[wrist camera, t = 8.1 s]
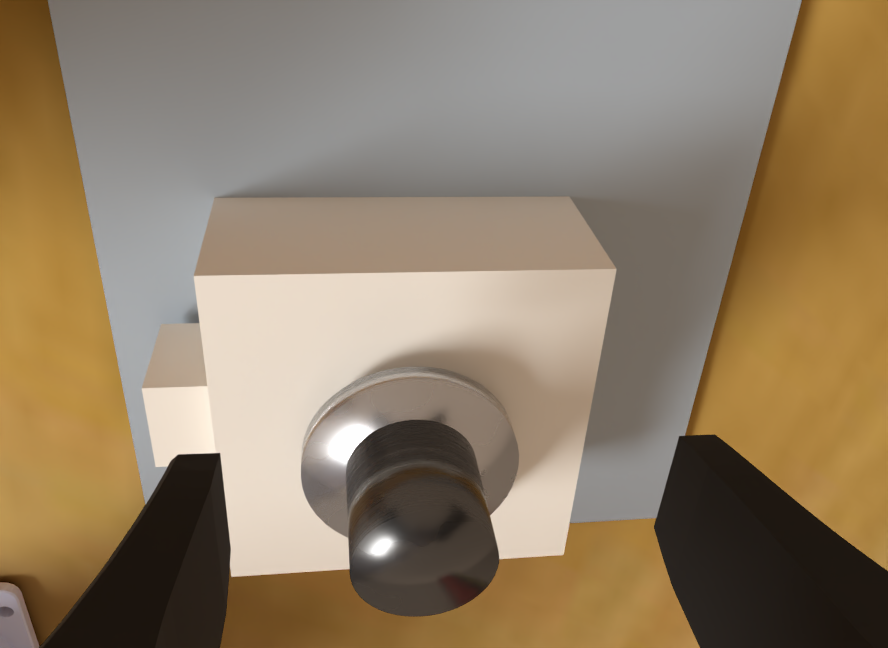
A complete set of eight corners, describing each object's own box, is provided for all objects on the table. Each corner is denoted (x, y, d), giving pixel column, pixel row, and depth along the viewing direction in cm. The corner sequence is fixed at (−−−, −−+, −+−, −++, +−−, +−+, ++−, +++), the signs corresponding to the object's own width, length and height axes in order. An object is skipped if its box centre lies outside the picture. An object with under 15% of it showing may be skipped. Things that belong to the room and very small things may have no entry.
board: (656, 505, 29) (662, 517, 28) (156, 534, 26) (154, 548, 26) (789, -6, 20) (801, -1, 19) (50, -30, 17) (42, -25, 17)
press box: (531, 458, 26) (563, 554, 23) (188, 475, 25) (168, 581, 21) (569, 196, 21) (616, 268, 18) (146, 198, 20) (111, 276, 16)
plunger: (475, 416, 24) (533, 637, 18) (307, 423, 24) (303, 655, 17) (489, 269, 22) (562, 466, 15) (300, 272, 21) (292, 479, 15)
